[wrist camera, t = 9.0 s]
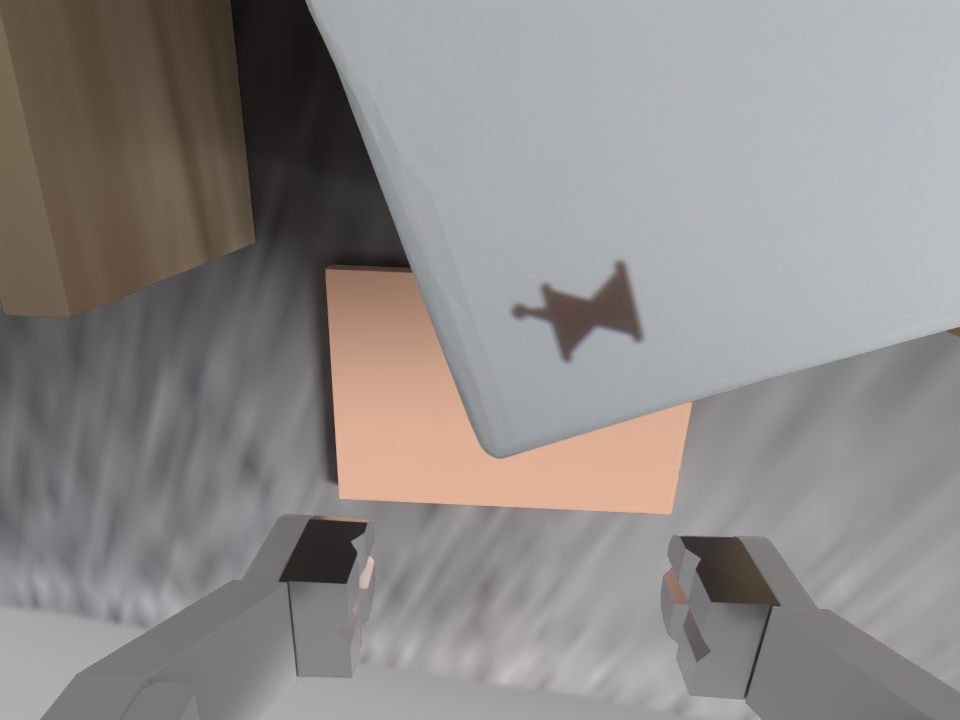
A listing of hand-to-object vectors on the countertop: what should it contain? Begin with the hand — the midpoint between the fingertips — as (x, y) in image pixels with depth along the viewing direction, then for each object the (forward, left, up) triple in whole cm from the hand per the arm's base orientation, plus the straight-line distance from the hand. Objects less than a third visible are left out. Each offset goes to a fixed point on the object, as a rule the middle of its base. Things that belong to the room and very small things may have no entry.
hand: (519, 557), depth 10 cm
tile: (0, 0, -7) cm, 7 cm away
